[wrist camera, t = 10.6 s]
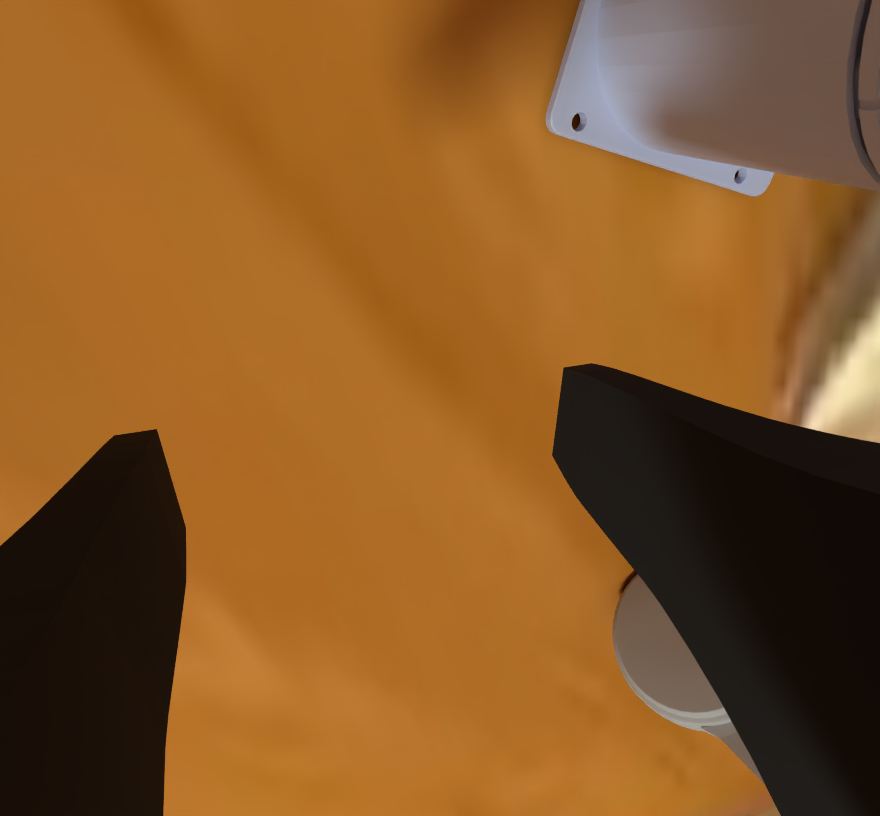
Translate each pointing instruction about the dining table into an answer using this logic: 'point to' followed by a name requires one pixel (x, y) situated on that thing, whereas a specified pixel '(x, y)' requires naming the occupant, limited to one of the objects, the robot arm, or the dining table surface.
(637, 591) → the headphones
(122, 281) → the dining table surface
